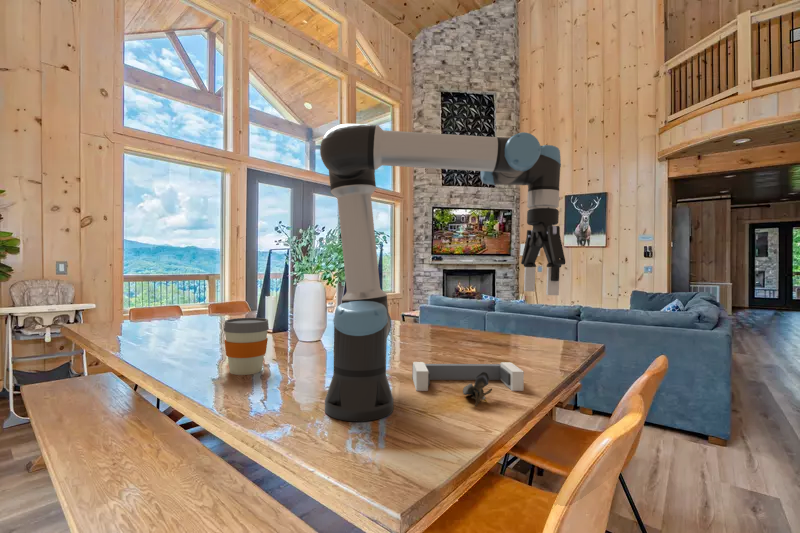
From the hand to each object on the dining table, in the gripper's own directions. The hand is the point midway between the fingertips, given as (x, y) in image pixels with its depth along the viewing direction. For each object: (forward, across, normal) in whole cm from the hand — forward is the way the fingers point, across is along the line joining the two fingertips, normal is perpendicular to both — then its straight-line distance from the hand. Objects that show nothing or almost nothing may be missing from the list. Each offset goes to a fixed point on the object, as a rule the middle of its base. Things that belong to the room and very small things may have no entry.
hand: (540, 293), depth 101 cm
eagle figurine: (+26, -4, +16) cm, 31 cm away
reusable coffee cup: (+27, +24, +79) cm, 87 cm away
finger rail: (+26, +9, +16) cm, 32 cm away
